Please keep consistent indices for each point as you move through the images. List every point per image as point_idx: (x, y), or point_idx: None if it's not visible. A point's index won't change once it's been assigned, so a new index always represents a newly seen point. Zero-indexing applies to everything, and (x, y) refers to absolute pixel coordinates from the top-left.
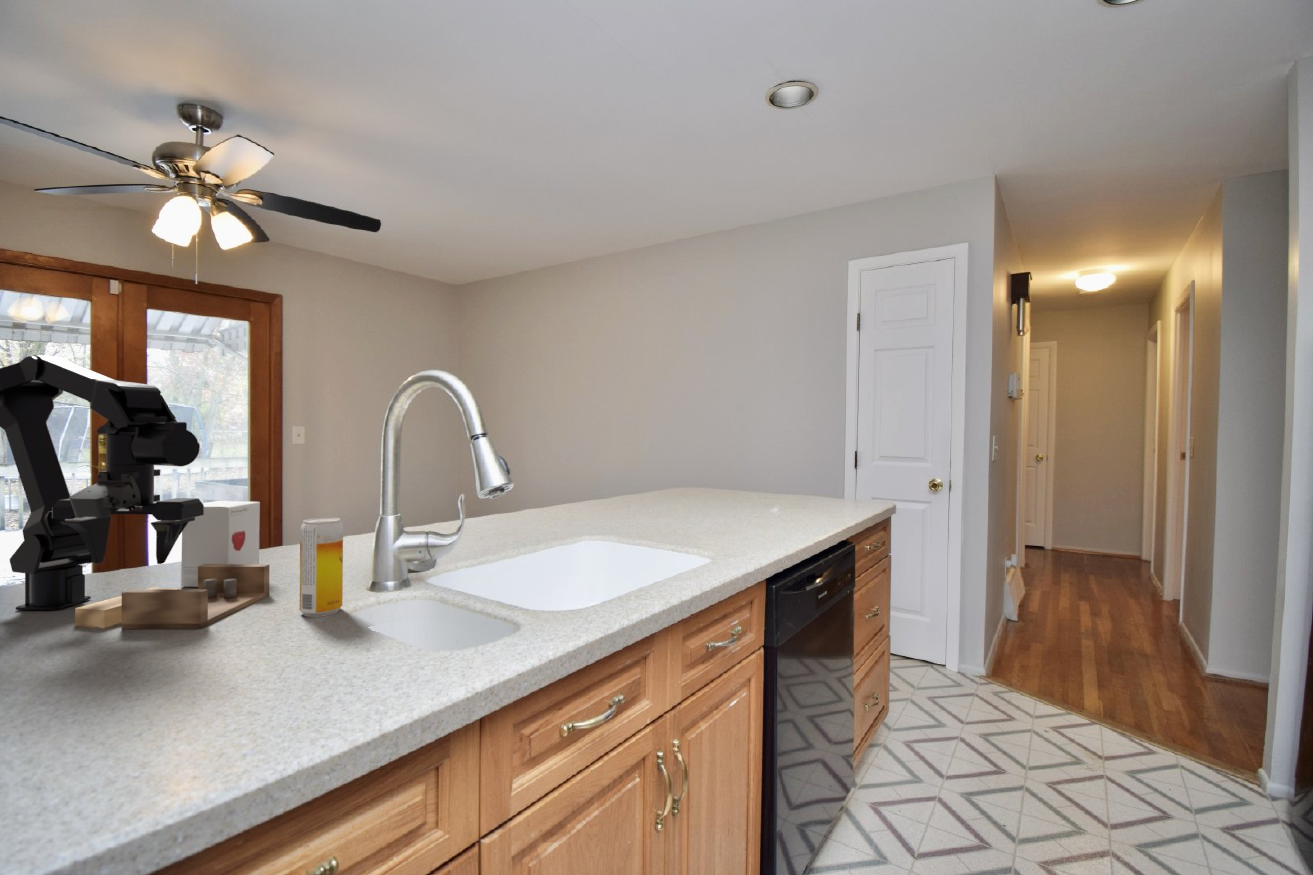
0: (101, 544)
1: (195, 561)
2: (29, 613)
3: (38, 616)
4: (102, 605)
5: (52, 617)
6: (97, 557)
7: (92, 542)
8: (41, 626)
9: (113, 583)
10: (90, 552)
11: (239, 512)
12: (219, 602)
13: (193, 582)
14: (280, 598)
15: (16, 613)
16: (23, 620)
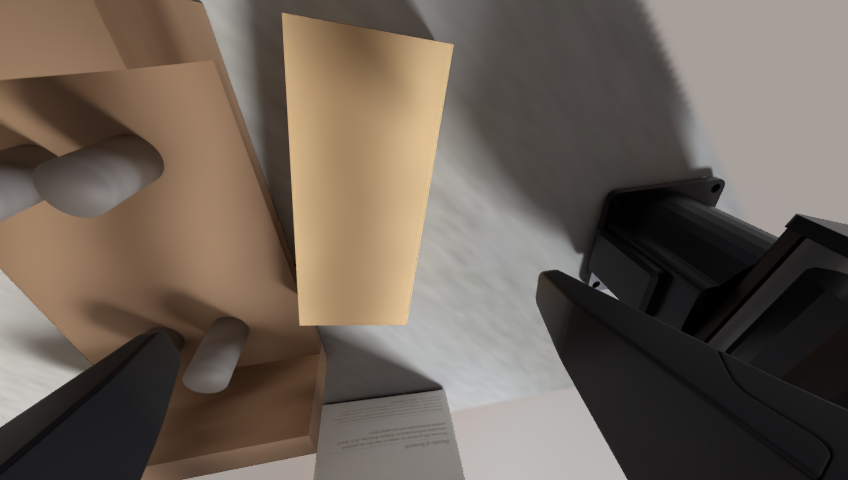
0: (608, 396)
1: (415, 466)
2: (667, 162)
3: (627, 138)
4: (371, 99)
5: (581, 133)
6: (558, 295)
7: (665, 372)
8: (550, 28)
9: None
10: (619, 304)
11: None
12: (133, 298)
13: (413, 403)
14: (62, 379)
15: (701, 158)
16: (647, 93)
